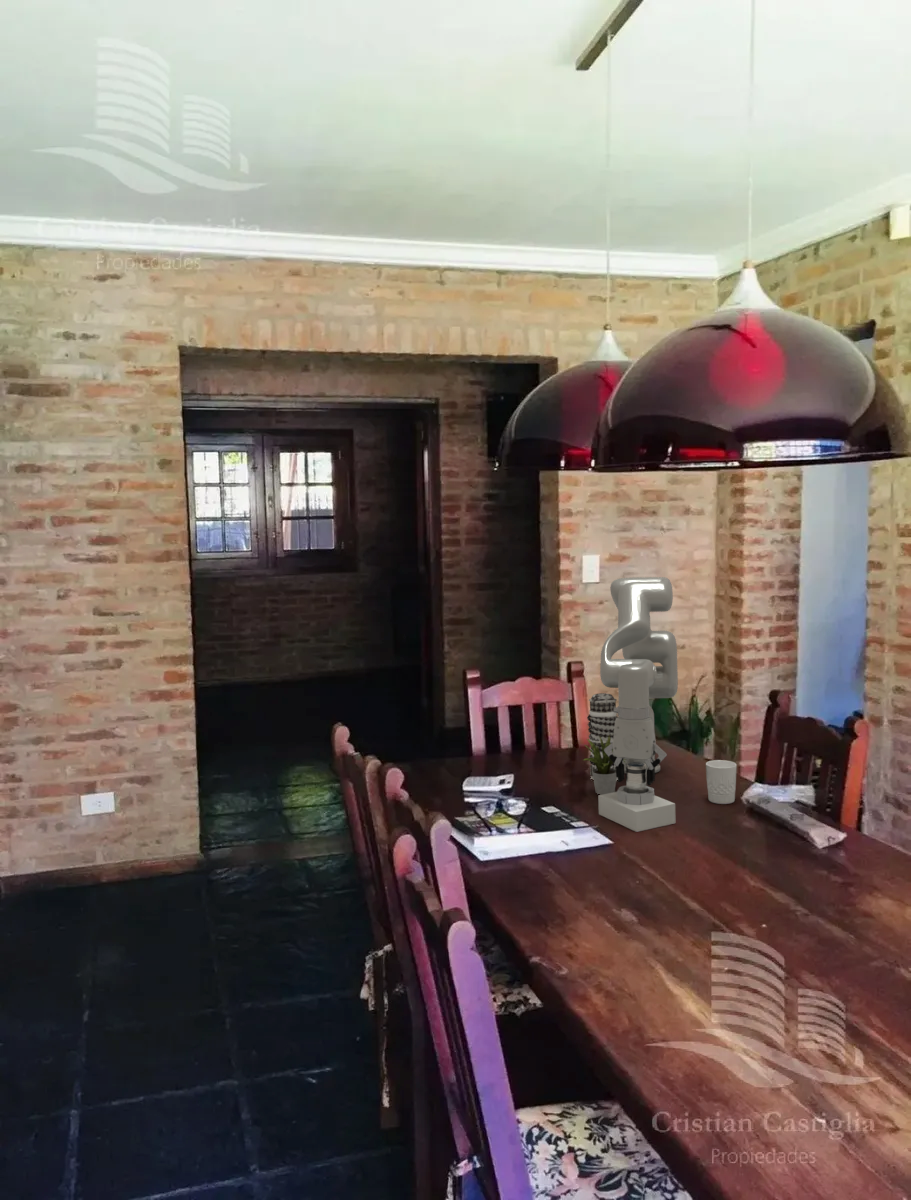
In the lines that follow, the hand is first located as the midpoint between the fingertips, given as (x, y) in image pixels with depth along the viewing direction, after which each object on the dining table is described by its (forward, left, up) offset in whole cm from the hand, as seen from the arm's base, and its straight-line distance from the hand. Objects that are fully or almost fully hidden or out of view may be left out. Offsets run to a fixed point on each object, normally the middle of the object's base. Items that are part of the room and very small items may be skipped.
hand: (635, 781), depth 234 cm
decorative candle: (-34, +14, -10) cm, 38 cm away
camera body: (0, 0, -10) cm, 10 cm away
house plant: (-21, +6, -10) cm, 24 cm away
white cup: (0, +28, -10) cm, 30 cm away
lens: (0, 0, -5) cm, 5 cm away
